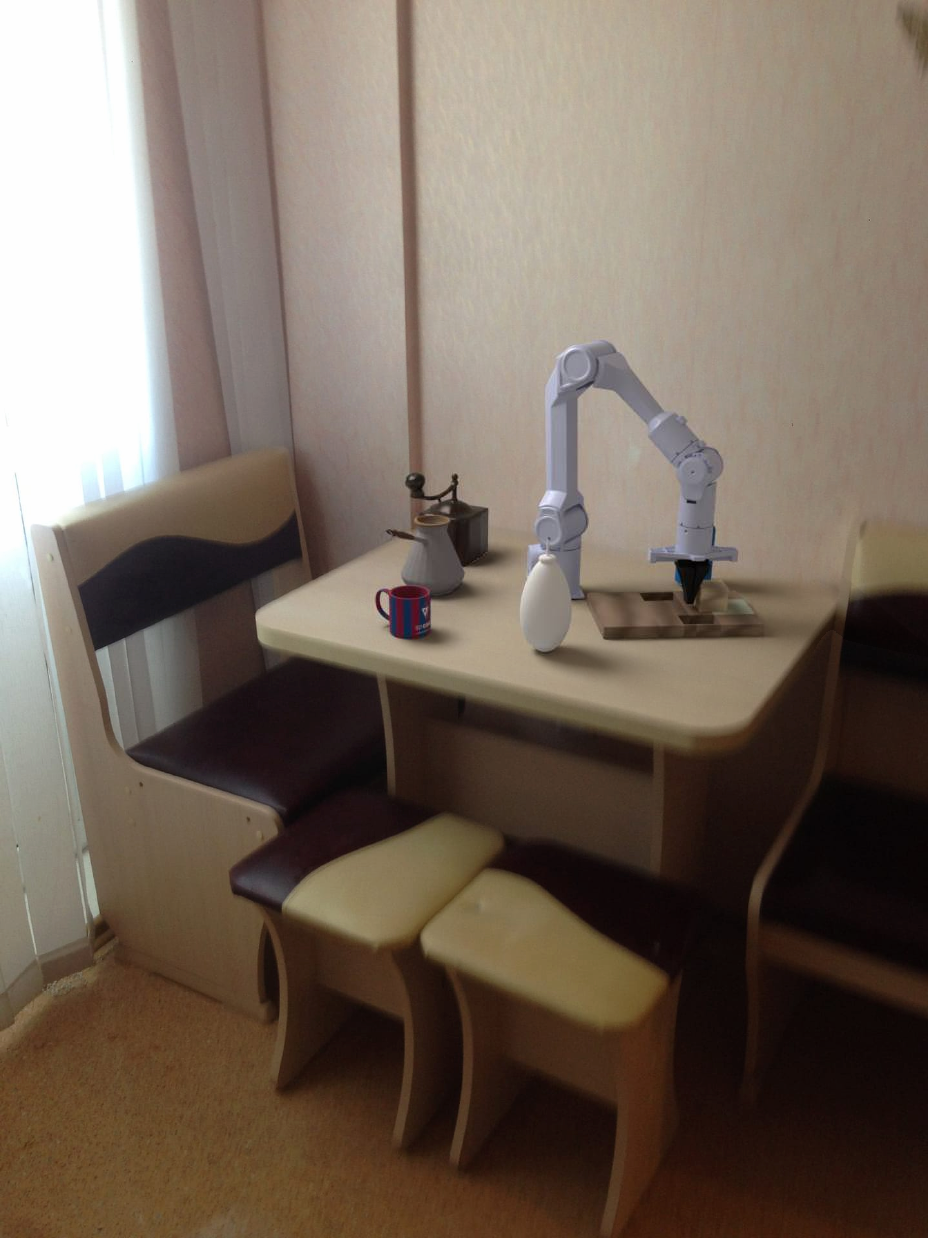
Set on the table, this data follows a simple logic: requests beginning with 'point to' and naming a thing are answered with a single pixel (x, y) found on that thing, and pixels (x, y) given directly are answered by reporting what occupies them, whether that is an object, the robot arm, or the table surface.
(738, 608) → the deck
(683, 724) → the table surface
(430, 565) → the coffee pot
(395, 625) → the mug
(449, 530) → the coffee grinder
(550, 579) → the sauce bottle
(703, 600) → the block
